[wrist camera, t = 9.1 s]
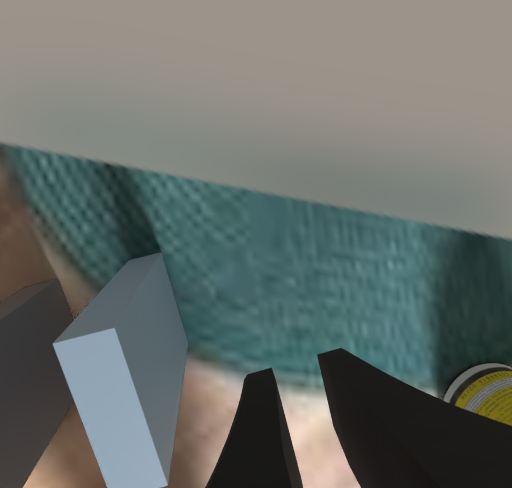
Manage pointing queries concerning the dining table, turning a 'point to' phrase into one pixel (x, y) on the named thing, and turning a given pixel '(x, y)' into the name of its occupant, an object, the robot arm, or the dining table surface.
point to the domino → (30, 377)
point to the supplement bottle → (484, 391)
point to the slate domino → (128, 373)
